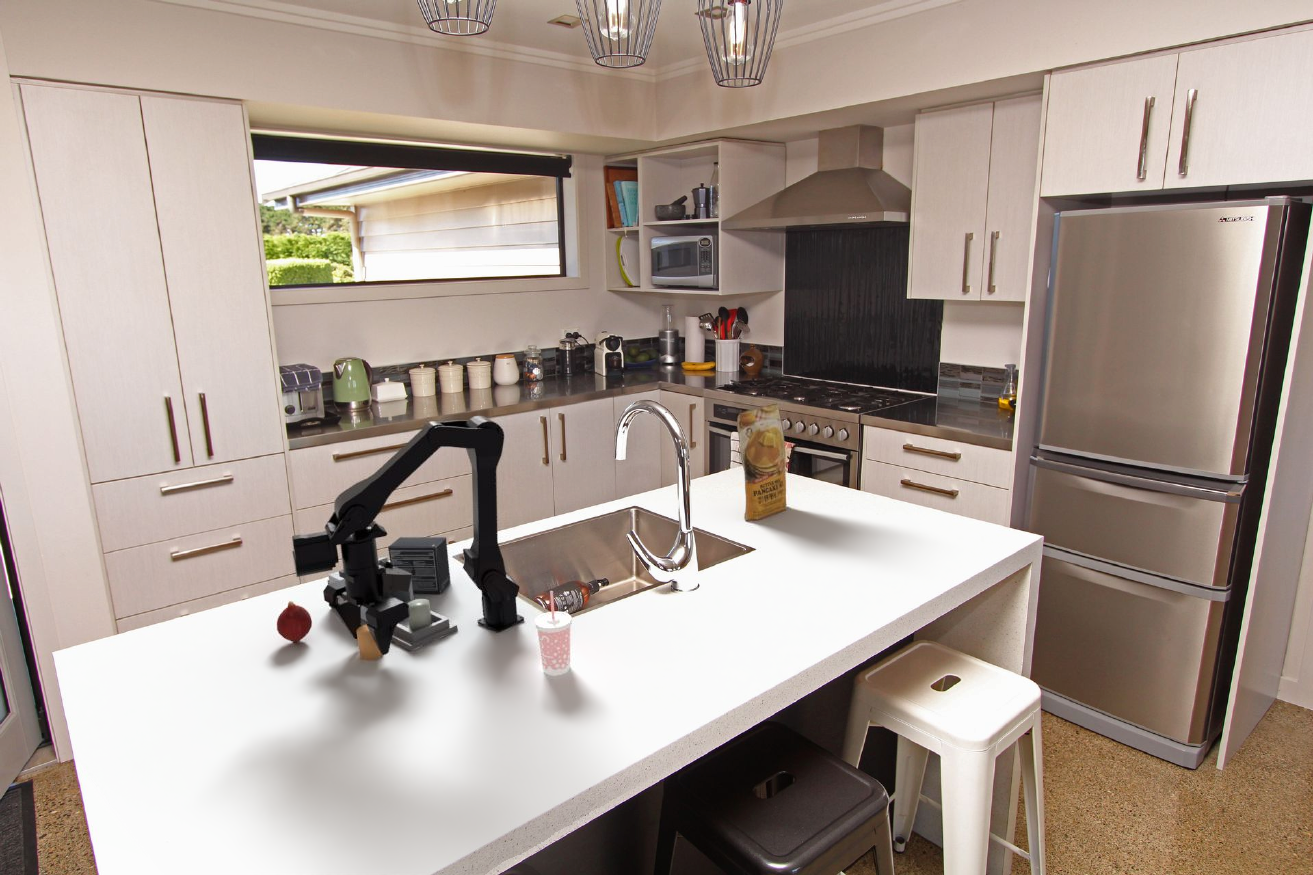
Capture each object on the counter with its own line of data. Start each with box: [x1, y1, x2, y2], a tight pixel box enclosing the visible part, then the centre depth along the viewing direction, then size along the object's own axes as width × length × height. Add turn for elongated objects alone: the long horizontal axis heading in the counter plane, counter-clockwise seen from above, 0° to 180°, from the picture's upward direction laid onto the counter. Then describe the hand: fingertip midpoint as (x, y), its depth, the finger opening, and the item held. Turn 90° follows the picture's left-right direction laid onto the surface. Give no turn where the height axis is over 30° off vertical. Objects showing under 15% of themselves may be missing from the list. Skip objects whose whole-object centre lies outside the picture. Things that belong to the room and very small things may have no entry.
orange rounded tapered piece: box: [356, 625, 383, 662], centre depth 139 cm, size 4×4×5 cm
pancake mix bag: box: [736, 403, 787, 521], centre depth 204 cm, size 7×19×28 cm, turn 132°
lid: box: [327, 556, 415, 621], centre depth 156 cm, size 14×10×8 cm
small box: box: [387, 536, 452, 595], centre depth 166 cm, size 11×6×10 cm, turn 84°
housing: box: [327, 579, 459, 652], centre depth 152 cm, size 28×10×6 cm, turn 50°
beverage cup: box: [534, 590, 573, 676], centre depth 132 cm, size 6×6×14 cm
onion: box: [276, 600, 313, 643], centre depth 144 cm, size 6×6×8 cm
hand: (371, 645), depth 139 cm, fingers open, 9 cm apart
